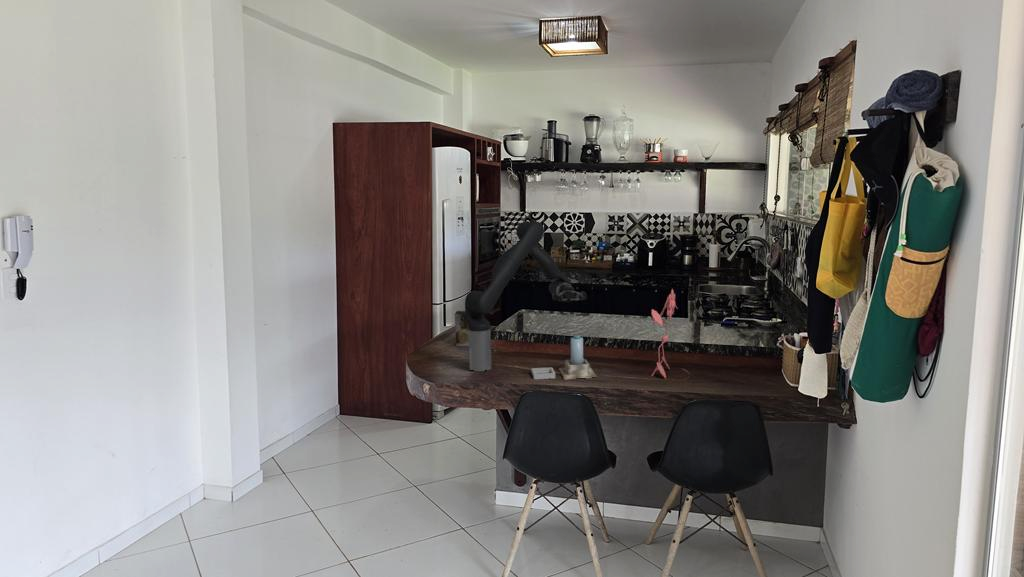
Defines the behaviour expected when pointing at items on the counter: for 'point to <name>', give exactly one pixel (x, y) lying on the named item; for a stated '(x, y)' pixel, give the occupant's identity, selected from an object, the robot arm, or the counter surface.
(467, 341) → the coffee box
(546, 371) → the white square tray
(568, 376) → the port
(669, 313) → the pink branching plant
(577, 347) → the light blue bottle
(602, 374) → the counter surface
